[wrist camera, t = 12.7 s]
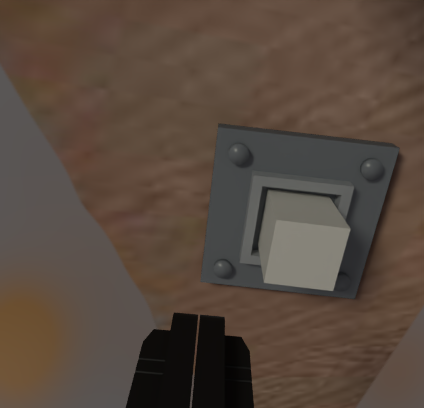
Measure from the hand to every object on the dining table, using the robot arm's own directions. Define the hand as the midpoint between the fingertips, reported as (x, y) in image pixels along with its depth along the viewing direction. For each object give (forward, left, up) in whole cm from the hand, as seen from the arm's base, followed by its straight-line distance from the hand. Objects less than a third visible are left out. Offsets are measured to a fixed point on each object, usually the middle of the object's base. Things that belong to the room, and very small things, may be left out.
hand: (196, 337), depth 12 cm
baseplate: (+5, +7, -22) cm, 24 cm away
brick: (+5, +7, -21) cm, 22 cm away
